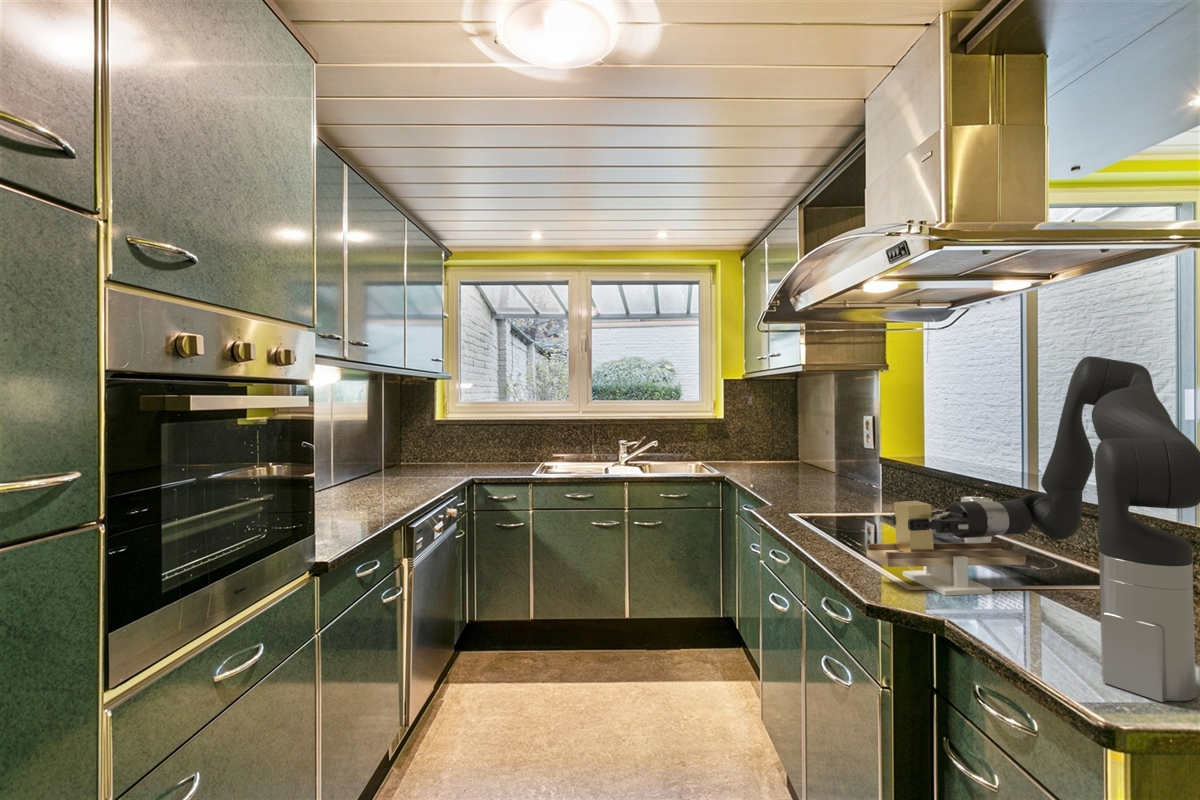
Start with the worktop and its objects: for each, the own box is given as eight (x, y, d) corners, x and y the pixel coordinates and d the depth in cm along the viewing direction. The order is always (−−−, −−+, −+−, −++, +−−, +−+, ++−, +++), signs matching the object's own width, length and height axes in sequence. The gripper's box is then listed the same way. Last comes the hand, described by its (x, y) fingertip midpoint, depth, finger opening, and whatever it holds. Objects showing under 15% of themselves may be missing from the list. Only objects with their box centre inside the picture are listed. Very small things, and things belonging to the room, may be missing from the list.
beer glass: (956, 555, 146) (954, 496, 146) (986, 556, 145) (985, 496, 145) (969, 563, 139) (967, 500, 139) (1000, 563, 138) (999, 500, 138)
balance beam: (996, 554, 128) (996, 542, 128) (1025, 564, 120) (1025, 551, 120) (866, 556, 126) (866, 543, 126) (888, 566, 118) (888, 552, 118)
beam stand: (944, 573, 130) (944, 542, 130) (992, 593, 116) (991, 558, 116) (902, 575, 129) (902, 544, 129) (945, 595, 115) (944, 560, 115)
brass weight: (918, 546, 125) (916, 500, 125) (933, 552, 120) (931, 504, 120) (896, 548, 125) (894, 502, 125) (910, 554, 120) (908, 506, 120)
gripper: (953, 496, 131) (880, 499, 129) (1002, 506, 116) (921, 510, 115) (954, 529, 131) (882, 533, 129) (1003, 544, 116) (923, 548, 115)
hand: (901, 522), depth 122 cm, fingers closed on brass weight, 5 cm apart
